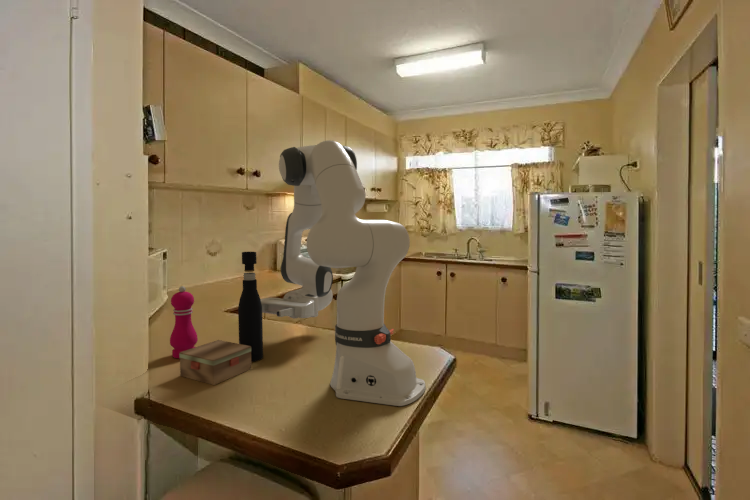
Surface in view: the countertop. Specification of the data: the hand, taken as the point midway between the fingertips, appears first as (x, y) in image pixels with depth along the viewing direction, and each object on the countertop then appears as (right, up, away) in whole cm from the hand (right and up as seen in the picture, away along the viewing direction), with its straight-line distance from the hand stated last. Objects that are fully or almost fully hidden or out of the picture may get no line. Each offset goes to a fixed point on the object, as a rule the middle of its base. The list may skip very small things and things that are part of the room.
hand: (266, 312), depth 119 cm
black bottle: (-3, -12, -5) cm, 14 cm away
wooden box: (-9, -13, -15) cm, 22 cm away
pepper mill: (-23, -12, -2) cm, 26 cm away
